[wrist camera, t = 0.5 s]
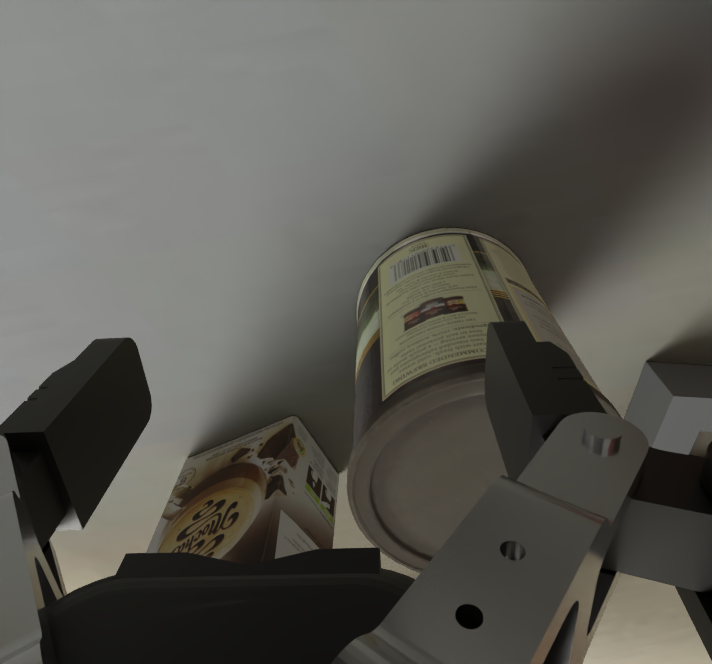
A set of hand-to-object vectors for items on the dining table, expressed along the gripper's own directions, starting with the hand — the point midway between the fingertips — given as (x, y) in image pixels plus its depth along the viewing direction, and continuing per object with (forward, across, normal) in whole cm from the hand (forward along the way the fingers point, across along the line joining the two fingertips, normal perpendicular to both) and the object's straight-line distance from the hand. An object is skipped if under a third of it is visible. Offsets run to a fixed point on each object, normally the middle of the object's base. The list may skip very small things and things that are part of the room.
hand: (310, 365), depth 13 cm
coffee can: (+18, -5, +7) cm, 21 cm away
